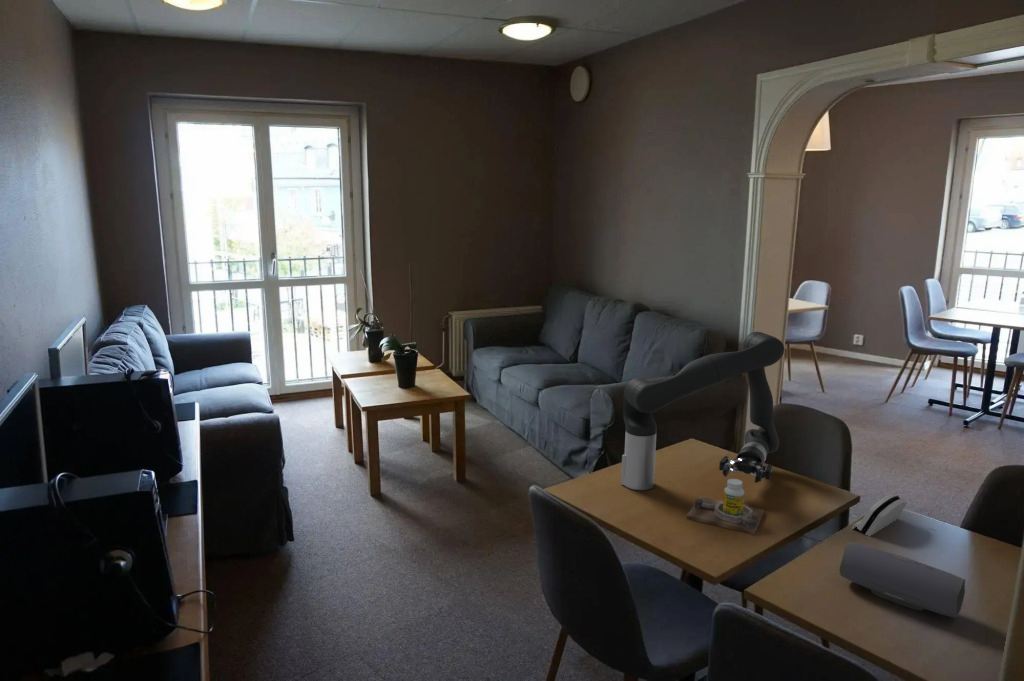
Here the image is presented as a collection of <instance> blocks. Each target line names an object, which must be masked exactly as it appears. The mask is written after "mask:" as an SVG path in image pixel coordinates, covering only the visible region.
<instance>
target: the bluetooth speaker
mask: <svg viewBox="0 0 1024 681" xmlns="http://www.w3.org/2000/svg"><path fill="white" fill-rule="evenodd" d="M839 574H840V577H842V578H844V579H847V580H848V581H851V582H853V583H855V584H858V585H860V586H863V587H864V588H867V589H869V590H871V593H872V594H874V595H875V596H878V597H879V598H882V599H885V600H887V601H890V602H893V603H896V604H898V605H901V606H904V607H906V608H909V609H912V610H915V611H919V612H922V611H924V610H927V611H930V612H934V613H936V614H939V615H942V616H947V617H950V618H954V619H957V617H958V615H959V613H960V612H961V609H962V606H963V603H964V598H965V593H966V585H965V584H966V579H964V578H962V577H960V576H957V575H956V574H953V573H951V572H948V571H945V570H942V569H940V568H937V567H934V566H932V565H929V564H926V563H923V562H920V561H917V560H914V559H911V558H908V557H906V556H903V555H898V554H896V553H893V552H889V551H887V550H883V549H879V548H877V547H874V546H869V545H866V544H863V543H858V542H853V541H849V542H847V543H846V546H845V548H844V552H843V554H842V558H841V562H840V565H839Z"/></svg>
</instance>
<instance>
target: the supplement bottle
mask: <svg viewBox="0 0 1024 681" xmlns="http://www.w3.org/2000/svg"><path fill="white" fill-rule="evenodd" d="M743 483H744V482H743V481H742V480H741V479H736V478H728V479H727V482H726V485H727V486H726V487H725V488H724V489H723V501H724V502H723V513H724V514H728V515H733V516H742V515H743V508H744V504H745V489H743Z"/></svg>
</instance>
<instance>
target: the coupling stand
mask: <svg viewBox="0 0 1024 681" xmlns="http://www.w3.org/2000/svg"><path fill="white" fill-rule="evenodd" d="M723 502H724V500H720V499H715V498H714V499H713V498H710V497H706V496H700V495H699V496H698V498H696V500H695V502H694V504H693V505H692V507H691V508H690V510H689V512H688V513H687V514H686V519H687V520H691V521H696V522H701V523H703V524H708V525H713V526H717V527H722V528H725V529H729V530H734V531H739V532H743V533H747V534H751V535H756V533H757V531H758V530H757V529H758V528H759V526H760V523H761V522H762V518H763V517H764V513H765V510H764V509H760V508H756V507H752V506H748V505H746V504H745V503H744V508H743V515H742V516H733V515H728V514H724V513H723Z"/></svg>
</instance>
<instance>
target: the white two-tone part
mask: <svg viewBox="0 0 1024 681" xmlns="http://www.w3.org/2000/svg"><path fill="white" fill-rule="evenodd" d="M907 504H908V502H907V501H906V500H905V499H904V498H901V497H900V496H899V495H898V494H896V493H890V494H888V495H885V496H883V497H882V498H880V499H879V500H877V502H875V503H874V504H873V505H872V506H871V507H869V509H868V511H867V512H866V514H865V515H864V516H863V518H862V519H860V520H859V521H856V522H855V523H854V524H853V525H852V526H851V528H852V529H854V528H855V529H858V530H859V531H860V532H864V534H865V536H867V535H868V536H867V537H869V536H870V537H872V536H873V535H875V534H876V533H877V531H878V532H879V530H880V531H882V528H883V529H884V528H886V527H888V525H890V523H891V524H892V523H893V521H894V522H895V521H897V520H898V519H899V518H900V515H901V513H902V512H903V511H904V509H905V507H906V505H907ZM896 519H897V520H896ZM885 526H886V527H885ZM856 527H857V528H856ZM852 529H851V530H852ZM855 529H854V530H855ZM874 533H875V534H874ZM871 535H872V536H871Z"/></svg>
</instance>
